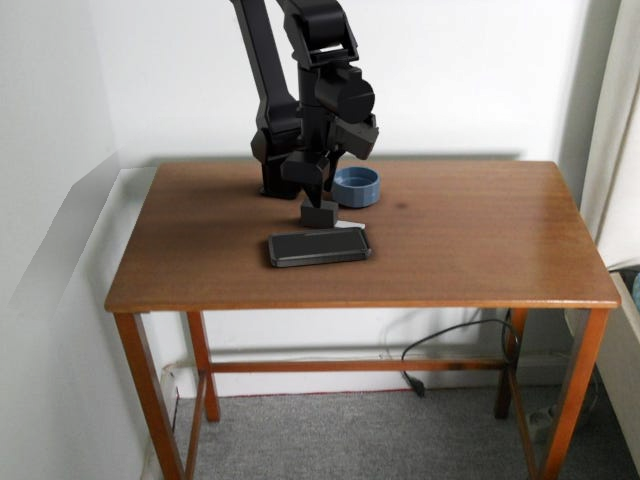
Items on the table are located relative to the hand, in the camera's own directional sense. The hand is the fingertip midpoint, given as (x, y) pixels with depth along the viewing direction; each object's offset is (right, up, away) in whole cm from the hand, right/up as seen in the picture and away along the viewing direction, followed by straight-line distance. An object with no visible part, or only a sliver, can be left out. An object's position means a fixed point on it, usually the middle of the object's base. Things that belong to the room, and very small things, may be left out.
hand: (322, 199), depth 105 cm
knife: (+2, -4, +3) cm, 5 cm away
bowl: (+5, +3, +10) cm, 11 cm away
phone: (0, -8, -3) cm, 9 cm away
